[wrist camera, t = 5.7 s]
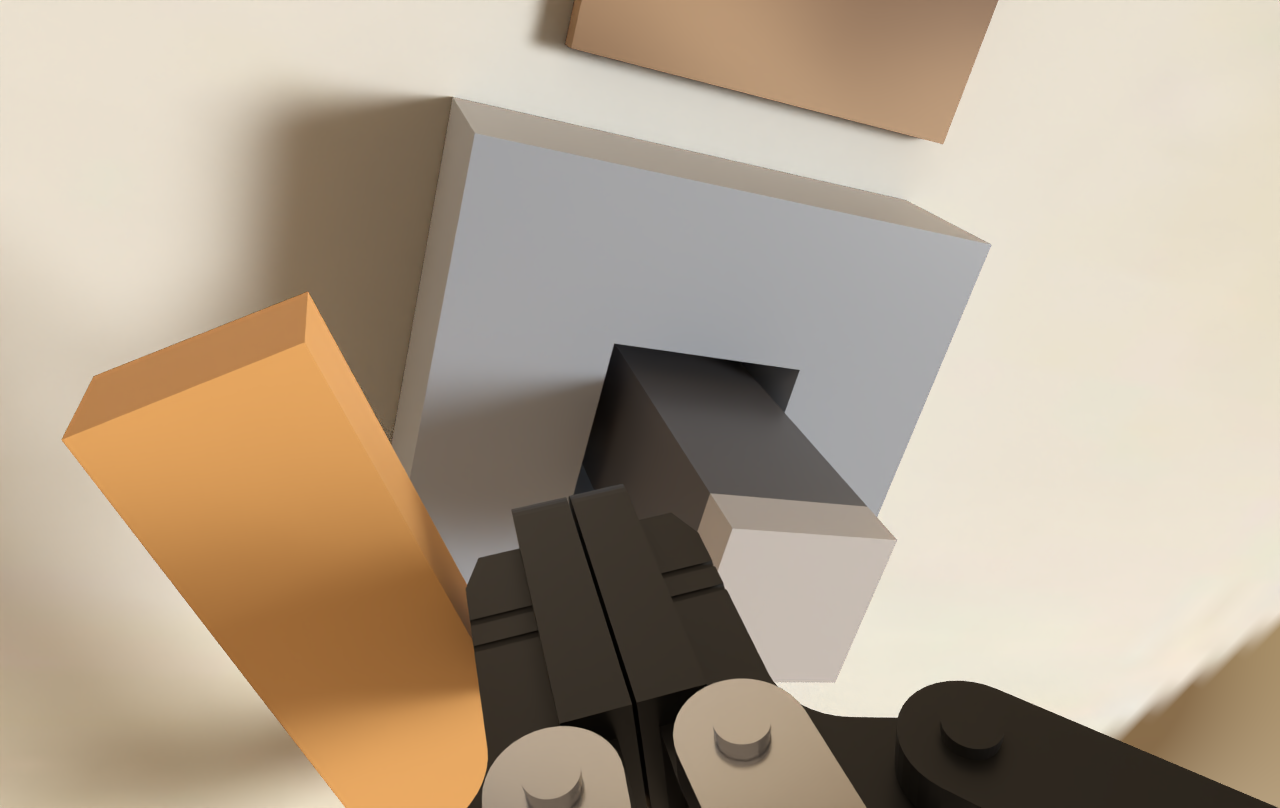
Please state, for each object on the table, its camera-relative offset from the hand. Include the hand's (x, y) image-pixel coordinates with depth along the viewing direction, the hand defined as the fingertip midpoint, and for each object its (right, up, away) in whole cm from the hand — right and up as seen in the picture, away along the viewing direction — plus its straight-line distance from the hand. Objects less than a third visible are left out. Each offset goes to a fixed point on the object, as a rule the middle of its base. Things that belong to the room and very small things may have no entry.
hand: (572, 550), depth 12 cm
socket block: (+1, +3, +11) cm, 11 cm away
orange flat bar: (-1, -5, +3) cm, 5 cm away
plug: (+1, +3, +11) cm, 11 cm away
